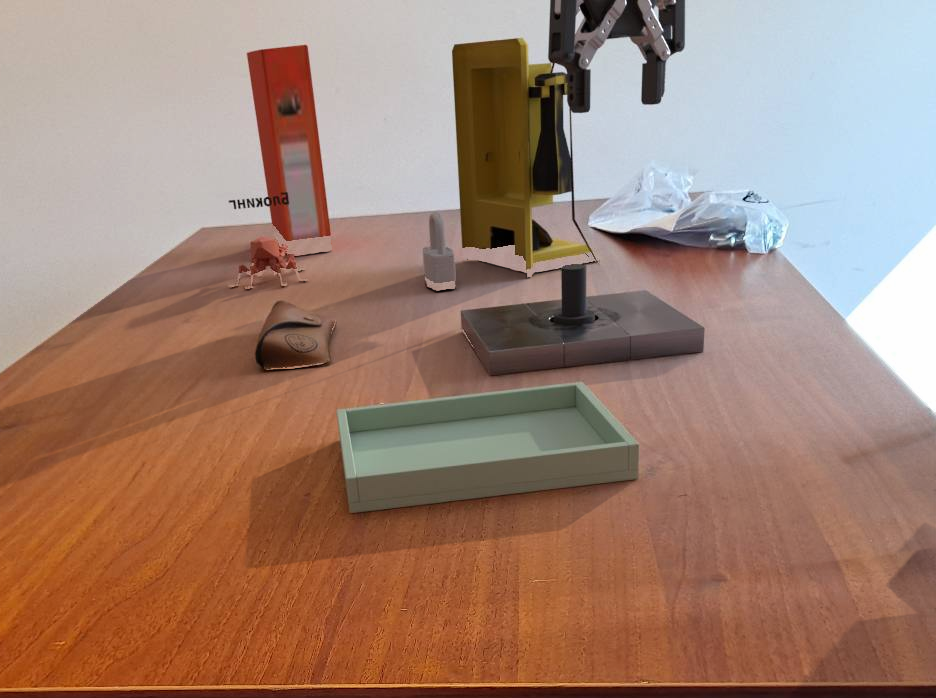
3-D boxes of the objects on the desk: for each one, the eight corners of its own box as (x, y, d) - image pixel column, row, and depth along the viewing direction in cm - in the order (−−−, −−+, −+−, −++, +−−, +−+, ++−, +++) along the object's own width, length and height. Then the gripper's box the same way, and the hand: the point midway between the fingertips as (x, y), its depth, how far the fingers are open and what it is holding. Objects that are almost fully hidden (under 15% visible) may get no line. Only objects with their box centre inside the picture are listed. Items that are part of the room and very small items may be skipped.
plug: (588, 333, 108) (588, 260, 105) (599, 344, 104) (600, 268, 101) (549, 338, 108) (548, 265, 105) (559, 348, 104) (558, 272, 101)
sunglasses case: (334, 360, 105) (296, 310, 103) (283, 397, 107) (244, 349, 104) (338, 320, 121) (304, 276, 119) (293, 353, 123) (260, 310, 121)
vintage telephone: (643, 270, 134) (650, 25, 121) (559, 287, 129) (557, 34, 116) (520, 243, 160) (514, 38, 147) (446, 256, 155) (433, 46, 142)
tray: (581, 411, 86) (582, 381, 85) (638, 479, 72) (639, 443, 71) (339, 439, 85) (336, 409, 84) (349, 513, 71) (345, 478, 70)
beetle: (306, 285, 144) (295, 196, 139) (224, 292, 145) (210, 204, 139) (316, 265, 158) (306, 183, 152) (241, 272, 158) (228, 190, 153)
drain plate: (645, 311, 115) (646, 289, 114) (703, 351, 99) (705, 327, 98) (461, 331, 114) (460, 310, 113) (490, 376, 98) (488, 351, 97)
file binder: (286, 258, 166) (258, 49, 152) (273, 243, 181) (246, 51, 167) (332, 251, 168) (309, 44, 153) (315, 237, 183) (292, 47, 168)
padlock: (420, 283, 139) (415, 210, 135) (448, 279, 140) (443, 207, 135) (432, 293, 133) (426, 217, 128) (460, 289, 133) (456, 213, 129)
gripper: (580, -93, 82) (579, 116, 89) (711, -97, 87) (700, 101, 94) (531, -80, 88) (533, 115, 95) (655, -84, 93) (649, 101, 100)
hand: (616, 108), depth 95 cm, fingers open, 8 cm apart
